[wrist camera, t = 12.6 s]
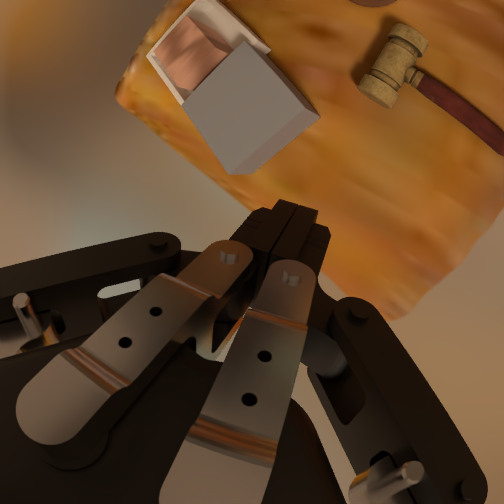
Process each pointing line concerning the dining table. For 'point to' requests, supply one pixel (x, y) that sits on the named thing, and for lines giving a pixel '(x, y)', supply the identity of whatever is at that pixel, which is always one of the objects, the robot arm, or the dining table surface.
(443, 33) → the dining table surface
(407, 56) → the gavel
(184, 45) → the terracotta block
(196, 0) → the box
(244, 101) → the grey platform
